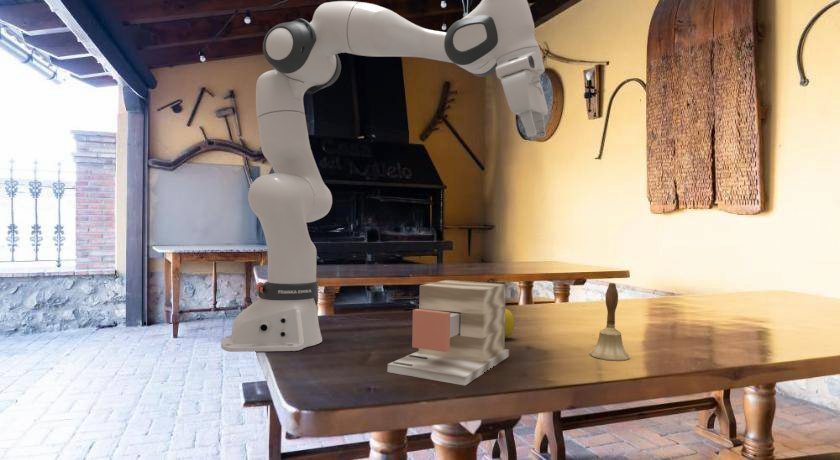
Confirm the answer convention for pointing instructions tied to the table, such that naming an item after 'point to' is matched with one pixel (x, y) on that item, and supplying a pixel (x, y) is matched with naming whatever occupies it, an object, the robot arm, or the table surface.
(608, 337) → the hand bell
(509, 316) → the lemon
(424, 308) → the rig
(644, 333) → the table surface
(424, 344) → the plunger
